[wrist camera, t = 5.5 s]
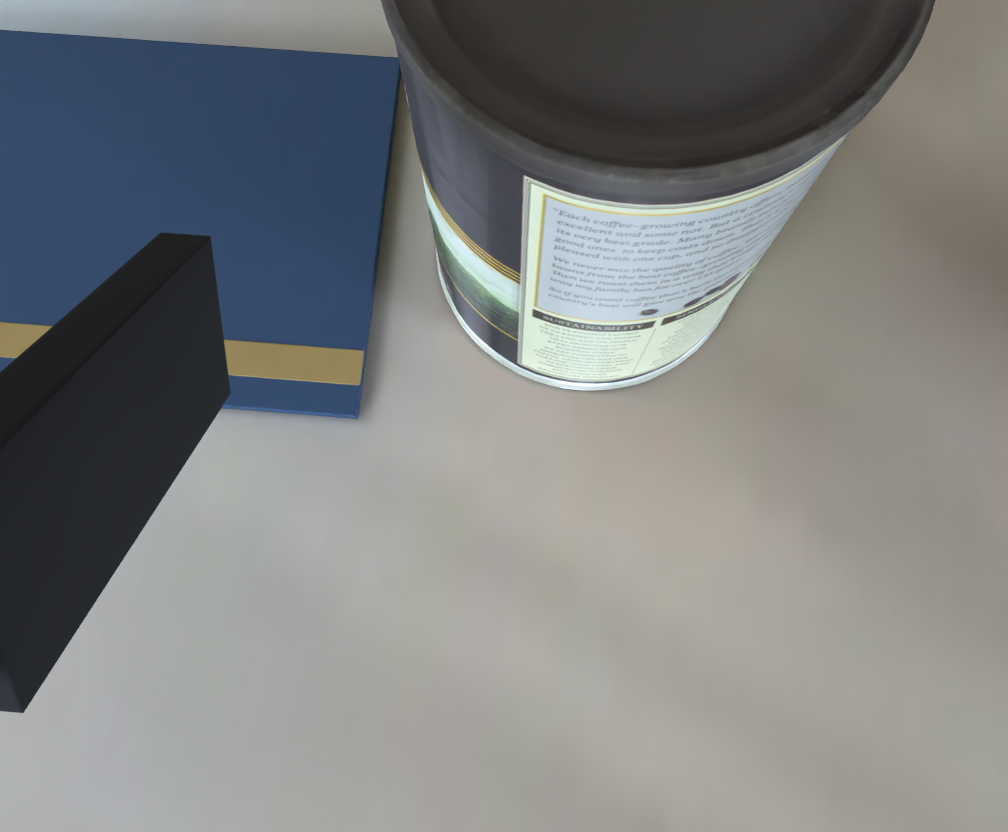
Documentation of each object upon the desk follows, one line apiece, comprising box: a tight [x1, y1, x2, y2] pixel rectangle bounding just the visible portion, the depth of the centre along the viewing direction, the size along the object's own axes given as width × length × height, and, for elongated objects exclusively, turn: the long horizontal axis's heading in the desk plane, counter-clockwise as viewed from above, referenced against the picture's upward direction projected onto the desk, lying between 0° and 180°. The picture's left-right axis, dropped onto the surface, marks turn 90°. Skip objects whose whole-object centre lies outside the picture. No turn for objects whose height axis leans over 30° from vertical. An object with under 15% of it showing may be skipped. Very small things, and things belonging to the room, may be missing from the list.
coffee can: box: [381, 0, 935, 391], centre depth 23 cm, size 10×10×14 cm
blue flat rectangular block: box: [0, 30, 401, 419], centre depth 30 cm, size 20×13×1 cm, turn 85°
